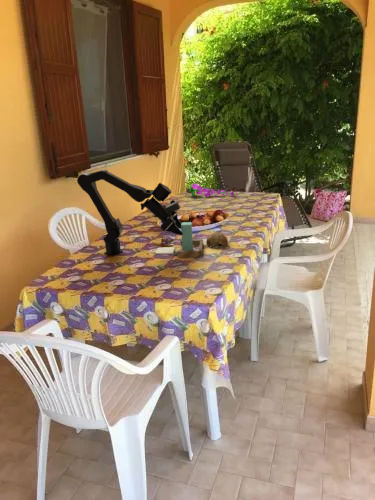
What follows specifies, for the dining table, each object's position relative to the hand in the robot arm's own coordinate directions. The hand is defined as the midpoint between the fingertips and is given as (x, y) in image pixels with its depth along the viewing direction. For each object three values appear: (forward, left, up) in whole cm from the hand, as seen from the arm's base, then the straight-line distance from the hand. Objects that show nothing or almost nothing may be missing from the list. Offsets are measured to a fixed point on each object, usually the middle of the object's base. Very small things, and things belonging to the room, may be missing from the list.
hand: (182, 231), depth 196 cm
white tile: (-4, +8, -9) cm, 13 cm away
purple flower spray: (+112, +54, -10) cm, 125 cm away
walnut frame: (+2, -3, -9) cm, 10 cm away
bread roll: (+15, -9, -10) cm, 20 cm away
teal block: (+1, -2, -9) cm, 9 cm away
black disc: (-5, 0, -9) cm, 10 cm away
